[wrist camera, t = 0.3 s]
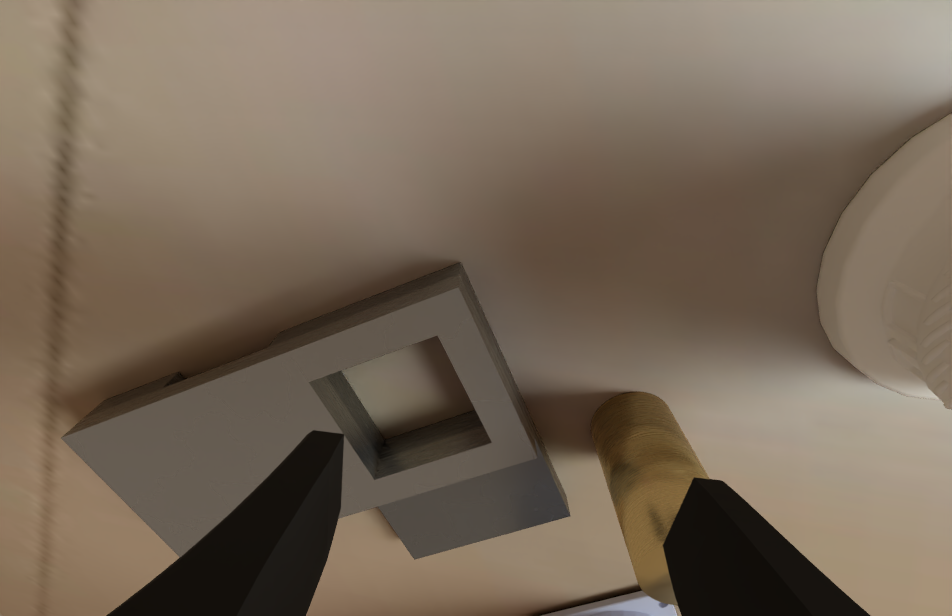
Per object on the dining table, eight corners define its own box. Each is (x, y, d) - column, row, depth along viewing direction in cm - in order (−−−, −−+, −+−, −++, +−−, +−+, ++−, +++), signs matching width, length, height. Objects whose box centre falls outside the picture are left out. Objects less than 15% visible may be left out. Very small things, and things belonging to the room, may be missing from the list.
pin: (679, 442, 22) (760, 590, 16) (603, 464, 23) (651, 616, 16) (661, 381, 20) (743, 517, 14) (580, 407, 21) (623, 547, 15)
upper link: (531, 419, 21) (537, 458, 19) (213, 521, 24) (187, 564, 22) (460, 262, 18) (458, 287, 16) (103, 401, 21) (60, 437, 19)
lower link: (566, 495, 23) (570, 515, 22) (417, 538, 25) (414, 559, 24) (460, 262, 18) (459, 273, 17) (279, 332, 20) (268, 347, 18)
